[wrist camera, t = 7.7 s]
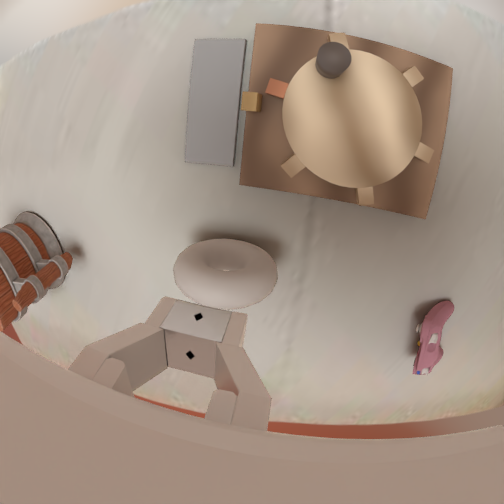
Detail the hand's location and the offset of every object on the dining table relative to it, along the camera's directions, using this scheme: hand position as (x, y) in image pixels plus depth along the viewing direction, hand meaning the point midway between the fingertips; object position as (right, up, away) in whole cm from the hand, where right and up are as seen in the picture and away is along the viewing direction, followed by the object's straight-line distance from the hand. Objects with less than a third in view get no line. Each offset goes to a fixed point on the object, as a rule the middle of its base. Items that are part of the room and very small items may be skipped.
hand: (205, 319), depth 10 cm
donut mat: (-2, +17, +16) cm, 23 cm away
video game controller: (+25, -8, +23) cm, 35 cm away
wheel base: (+11, +15, +14) cm, 23 cm away
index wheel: (+10, +14, +13) cm, 22 cm away
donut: (0, +3, +23) cm, 23 cm away
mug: (-31, +3, +29) cm, 42 cm away
